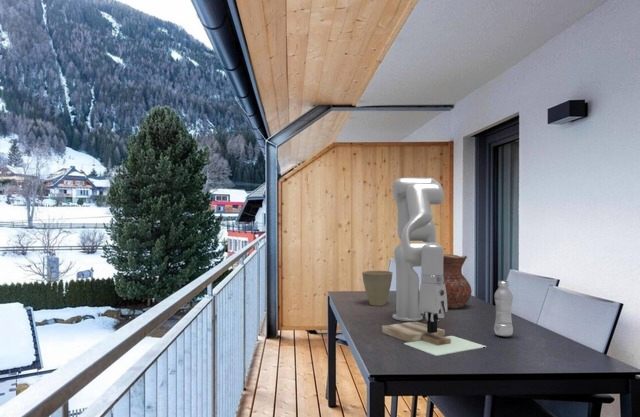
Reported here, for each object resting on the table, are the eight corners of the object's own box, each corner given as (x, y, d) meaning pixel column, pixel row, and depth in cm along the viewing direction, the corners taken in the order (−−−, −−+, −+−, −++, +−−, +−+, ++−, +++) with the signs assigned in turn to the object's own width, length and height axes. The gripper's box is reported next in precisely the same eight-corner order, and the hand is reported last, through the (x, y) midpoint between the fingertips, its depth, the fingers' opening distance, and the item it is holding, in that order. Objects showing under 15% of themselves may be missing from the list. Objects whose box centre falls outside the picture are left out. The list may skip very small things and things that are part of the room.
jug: (476, 305, 236) (476, 254, 236) (464, 312, 218) (464, 257, 218) (432, 300, 247) (432, 252, 248) (417, 307, 230) (417, 254, 230)
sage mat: (451, 336, 174) (451, 335, 174) (486, 347, 160) (486, 346, 160) (403, 344, 164) (403, 343, 164) (436, 356, 150) (436, 355, 150)
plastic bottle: (512, 334, 177) (512, 280, 178) (513, 339, 171) (513, 282, 171) (494, 333, 179) (493, 279, 180) (494, 337, 173) (494, 282, 173)
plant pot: (371, 300, 246) (371, 269, 247) (397, 304, 238) (397, 271, 238) (356, 305, 234) (356, 272, 235) (383, 308, 226) (383, 274, 226)
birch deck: (415, 327, 188) (415, 321, 188) (444, 337, 173) (444, 330, 174) (382, 332, 180) (382, 325, 180) (409, 342, 166) (409, 335, 166)
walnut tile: (434, 338, 171) (434, 333, 171) (450, 343, 164) (450, 338, 164) (421, 340, 168) (421, 335, 168) (437, 345, 161) (437, 341, 161)
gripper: (455, 281, 163) (455, 335, 163) (426, 276, 176) (426, 326, 176) (438, 283, 159) (438, 338, 159) (410, 277, 173) (410, 329, 172)
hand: (432, 332), depth 168 cm, fingers closed
